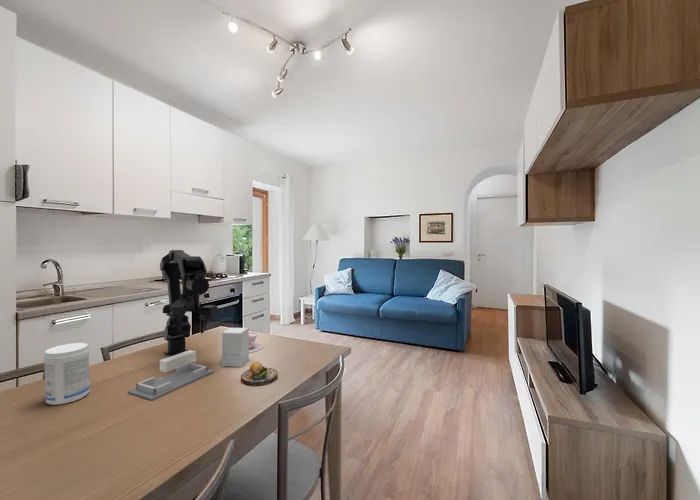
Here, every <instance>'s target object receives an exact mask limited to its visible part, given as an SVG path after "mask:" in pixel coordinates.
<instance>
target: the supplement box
mask: <svg viewBox="0 0 700 500" xmlns="http://www.w3.org/2000/svg"><path fill="white" fill-rule="evenodd" d="M249 332H250V331H249V327H230V328H228V329H227V330H225V331H223V332H222V333H221V335H222V336H221V341H222V342H221V345H222V348H221V349H222V357H221V358H222V367H233V368H234V367H236V368H237V367H238V368H239V367H243V366H244V365H245V364H246V363H247V362H248V361H249V360H250V359H249V357H250V356H249V355H250V353H249V350H250V349H249Z"/></svg>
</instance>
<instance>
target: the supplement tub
mask: <svg viewBox="0 0 700 500" xmlns="http://www.w3.org/2000/svg"><path fill="white" fill-rule="evenodd" d="M43 358H44V359H43V361H44V365H43V366H44V388H45V390H44V391H45V392H44V393H45V397H44V398H45V402H46V404H48V405H53V406H55V405H56V406H58V405H65V404H69V403H71V402H76V401H79V400H81V399H82V398H84V397H86V396H87V395H88V394H89V393H90V390H91V388H90V351H89V345H88V343H86V342H73V343H66V344H62V345H57V346H53V347H50V348H48V349H46V350H45V351H44V357H43Z"/></svg>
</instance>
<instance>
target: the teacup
mask: <svg viewBox="0 0 700 500" xmlns="http://www.w3.org/2000/svg"><path fill="white" fill-rule="evenodd" d="M258 335H259V332H256V331H249V354H250V353H254V352H257V351H260V350H262V349H263V345H262V344H261V343H256V342H255V341H256V339H257V337H258Z"/></svg>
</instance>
